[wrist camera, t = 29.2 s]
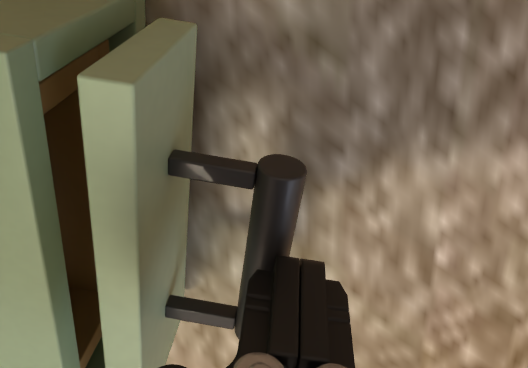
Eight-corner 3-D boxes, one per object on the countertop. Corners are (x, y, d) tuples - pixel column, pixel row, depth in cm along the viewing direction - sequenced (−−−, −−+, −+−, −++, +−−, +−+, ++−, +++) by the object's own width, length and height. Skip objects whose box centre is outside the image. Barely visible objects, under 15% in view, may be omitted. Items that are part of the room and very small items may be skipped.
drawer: (327, 43, 13) (329, 116, 9) (269, 326, 20) (254, 450, 16) (-270, -53, 14) (-562, -32, 9) (-131, 255, 21) (-259, 355, 16)
